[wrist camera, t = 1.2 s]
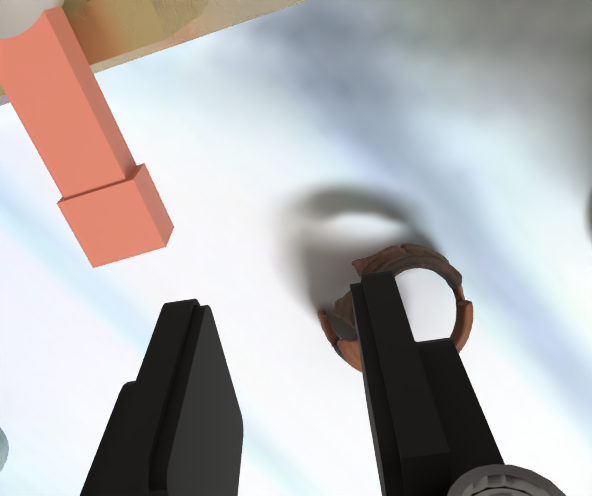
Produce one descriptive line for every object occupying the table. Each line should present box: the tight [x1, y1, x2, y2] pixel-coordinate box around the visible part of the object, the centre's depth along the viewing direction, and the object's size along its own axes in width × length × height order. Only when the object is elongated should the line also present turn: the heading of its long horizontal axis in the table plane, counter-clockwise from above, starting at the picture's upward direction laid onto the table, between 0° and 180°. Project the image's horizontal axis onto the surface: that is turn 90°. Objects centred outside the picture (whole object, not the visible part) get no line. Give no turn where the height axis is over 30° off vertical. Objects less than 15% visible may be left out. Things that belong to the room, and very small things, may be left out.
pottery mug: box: [318, 244, 473, 372], centre depth 38 cm, size 12×9×8 cm
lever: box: [0, 0, 174, 268], centre depth 20 cm, size 13×4×2 cm, turn 17°
